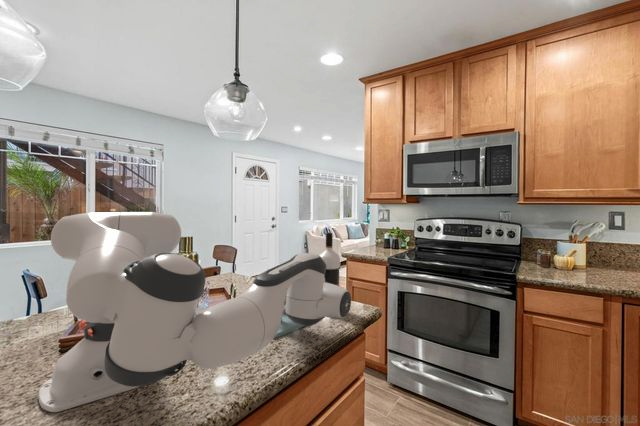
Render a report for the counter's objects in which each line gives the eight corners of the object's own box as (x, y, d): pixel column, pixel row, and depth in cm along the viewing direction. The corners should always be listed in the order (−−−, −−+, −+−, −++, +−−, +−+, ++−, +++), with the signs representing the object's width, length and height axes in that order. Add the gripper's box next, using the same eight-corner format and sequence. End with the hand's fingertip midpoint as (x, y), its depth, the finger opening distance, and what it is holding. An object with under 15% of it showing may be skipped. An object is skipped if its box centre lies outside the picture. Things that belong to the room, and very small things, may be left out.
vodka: (324, 317, 109) (325, 234, 108) (311, 309, 117) (312, 232, 116) (345, 313, 114) (346, 233, 113) (332, 305, 122) (332, 231, 121)
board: (272, 339, 92) (272, 318, 92) (246, 325, 102) (246, 307, 102) (309, 323, 104) (310, 305, 104) (283, 313, 114) (283, 296, 113)
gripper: (279, 311, 86) (251, 300, 96) (327, 295, 101) (299, 286, 111) (279, 289, 86) (251, 280, 95) (328, 276, 101) (299, 269, 110)
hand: (277, 283), depth 103 cm, fingers closed on sleeve, 6 cm apart
